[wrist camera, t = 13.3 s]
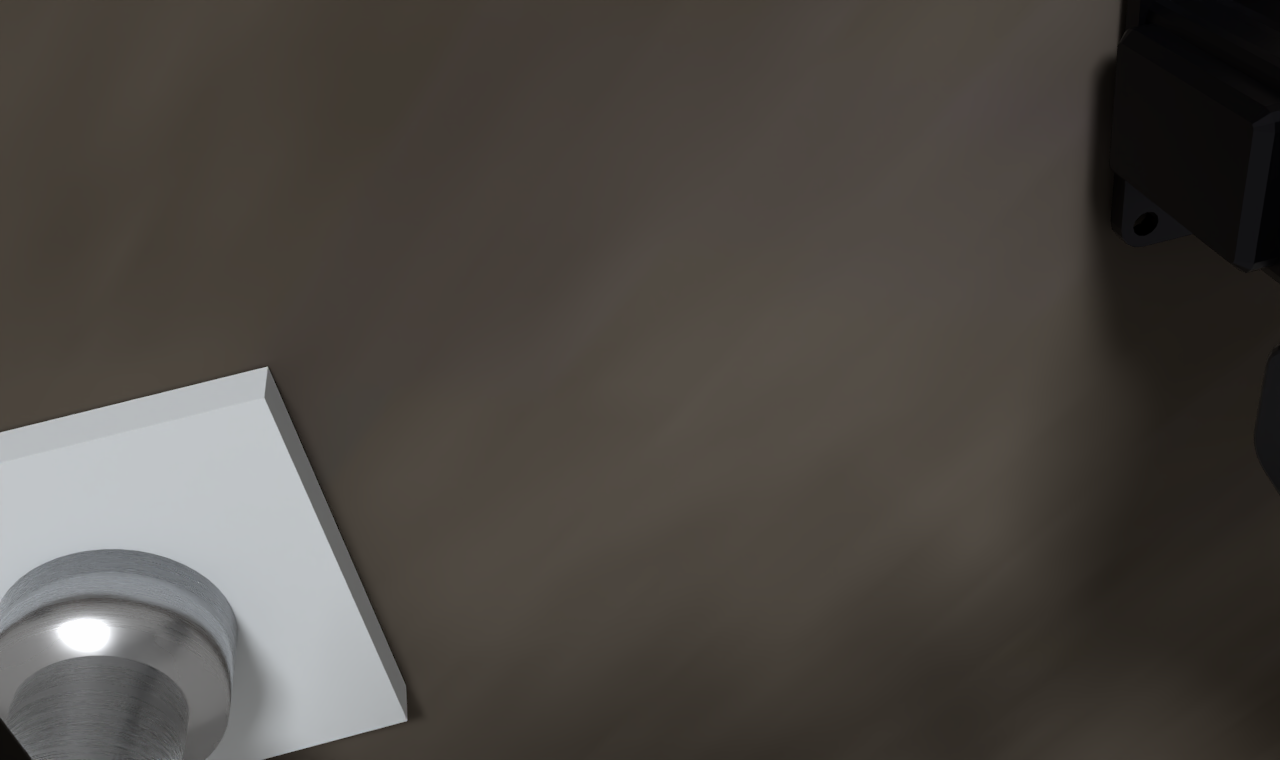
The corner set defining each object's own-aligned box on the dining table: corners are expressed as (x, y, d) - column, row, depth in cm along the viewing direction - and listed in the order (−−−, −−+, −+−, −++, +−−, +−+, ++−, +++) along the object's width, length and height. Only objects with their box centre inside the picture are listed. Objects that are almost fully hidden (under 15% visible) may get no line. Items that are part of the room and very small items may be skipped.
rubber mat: (268, 366, 22) (263, 397, 21) (406, 686, 27) (407, 720, 26) (-233, 489, 21) (-257, 526, 20) (8, 791, 26) (-4, 830, 25)
